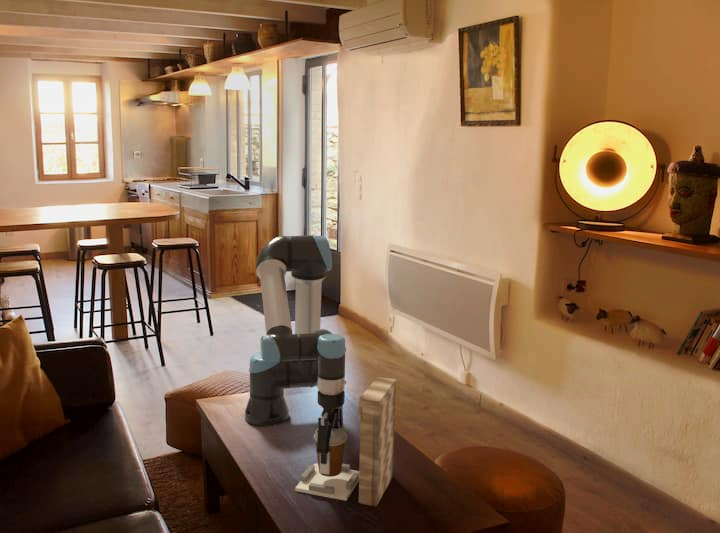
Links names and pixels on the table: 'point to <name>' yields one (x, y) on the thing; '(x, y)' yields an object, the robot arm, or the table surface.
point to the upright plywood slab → (376, 439)
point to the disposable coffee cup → (334, 450)
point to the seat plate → (328, 482)
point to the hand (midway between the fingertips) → (330, 465)
